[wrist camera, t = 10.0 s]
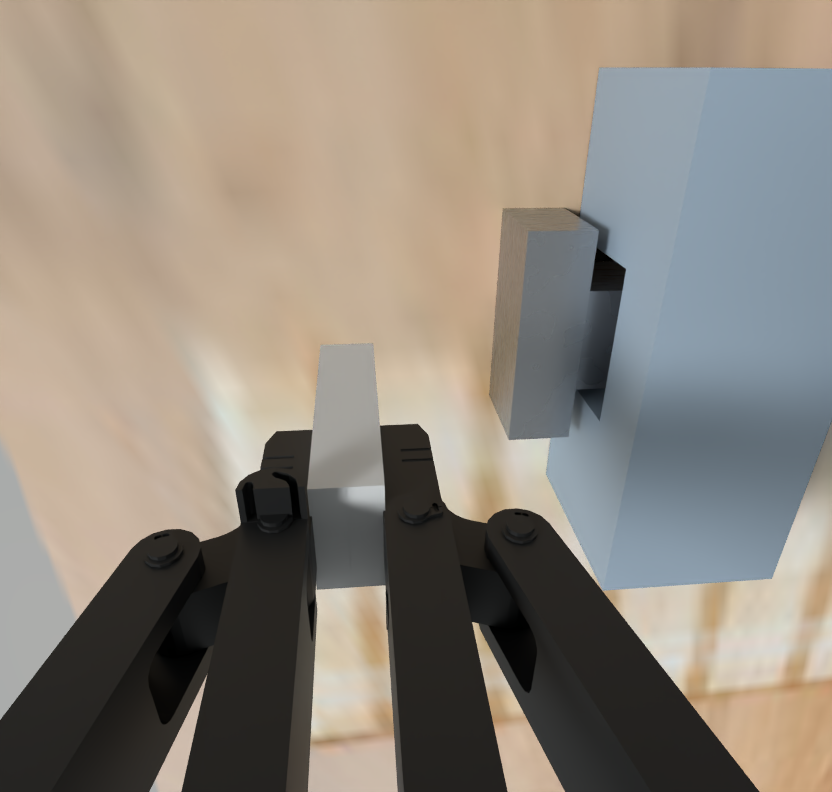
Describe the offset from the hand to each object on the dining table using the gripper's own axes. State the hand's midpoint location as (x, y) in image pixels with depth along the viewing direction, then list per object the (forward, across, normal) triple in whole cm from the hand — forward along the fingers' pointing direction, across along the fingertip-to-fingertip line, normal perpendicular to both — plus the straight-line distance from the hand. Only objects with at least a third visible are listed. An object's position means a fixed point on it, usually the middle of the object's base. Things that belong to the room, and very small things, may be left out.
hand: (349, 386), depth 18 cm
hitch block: (+8, +13, -1) cm, 15 cm away
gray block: (+9, +12, -1) cm, 15 cm away
